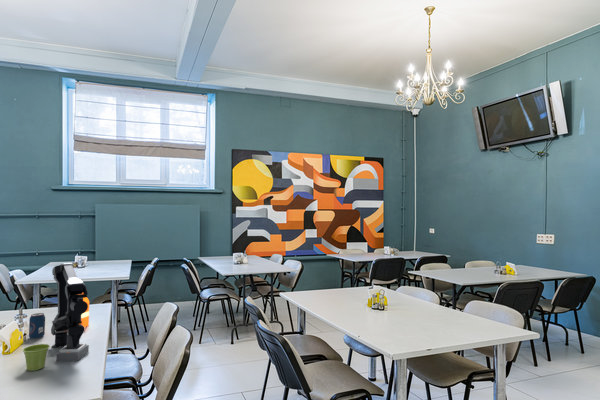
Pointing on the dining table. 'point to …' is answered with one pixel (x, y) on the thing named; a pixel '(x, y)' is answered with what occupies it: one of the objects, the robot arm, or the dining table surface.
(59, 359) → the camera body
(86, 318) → the orange juice
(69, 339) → the lens
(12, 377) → the dining table surface
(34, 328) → the soda can
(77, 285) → the robot arm
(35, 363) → the plant pot
